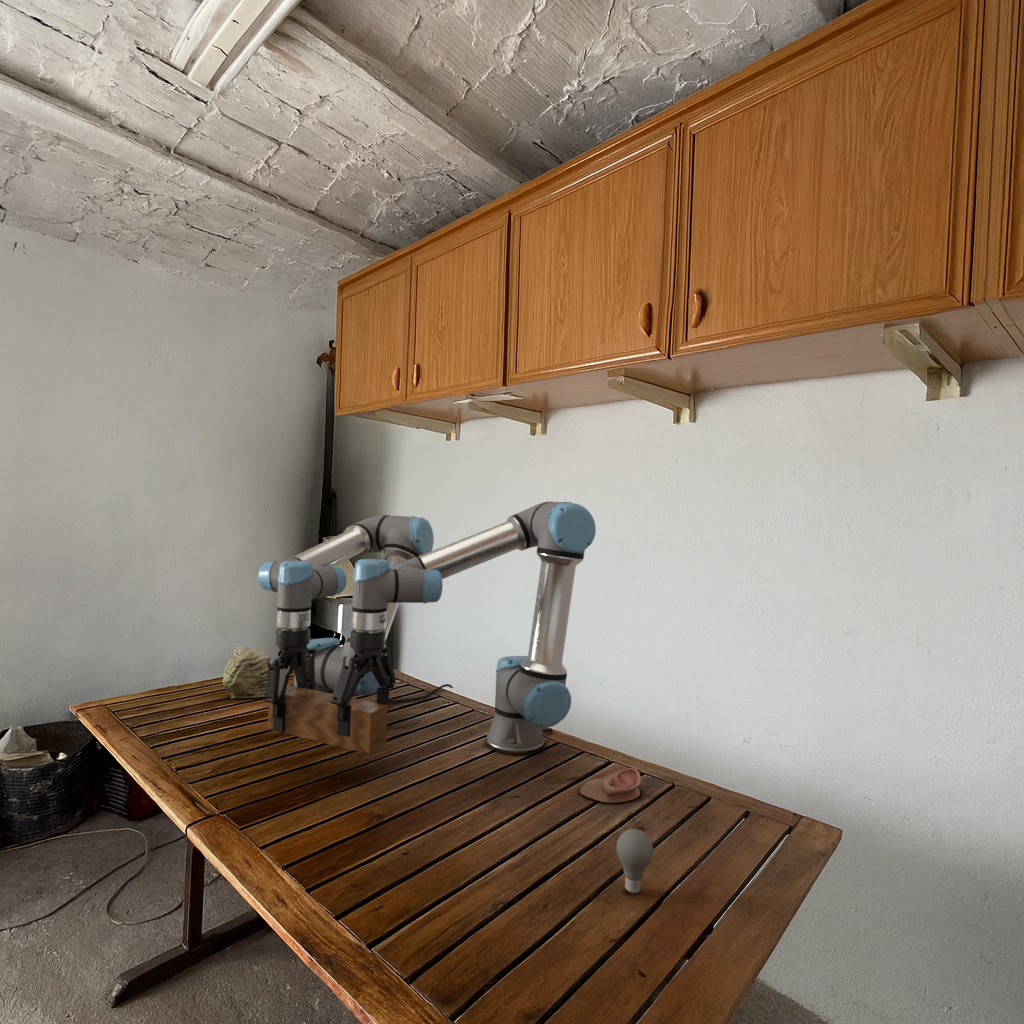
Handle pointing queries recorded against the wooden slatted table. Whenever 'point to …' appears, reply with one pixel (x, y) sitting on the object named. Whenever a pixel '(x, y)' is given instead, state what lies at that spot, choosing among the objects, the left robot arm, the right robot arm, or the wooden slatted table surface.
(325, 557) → the left robot arm
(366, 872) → the wooden slatted table surface
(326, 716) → the box
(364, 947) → the wooden slatted table surface
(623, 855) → the light bulb
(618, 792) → the anatomical model
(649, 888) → the wooden slatted table surface
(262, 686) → the fossil
